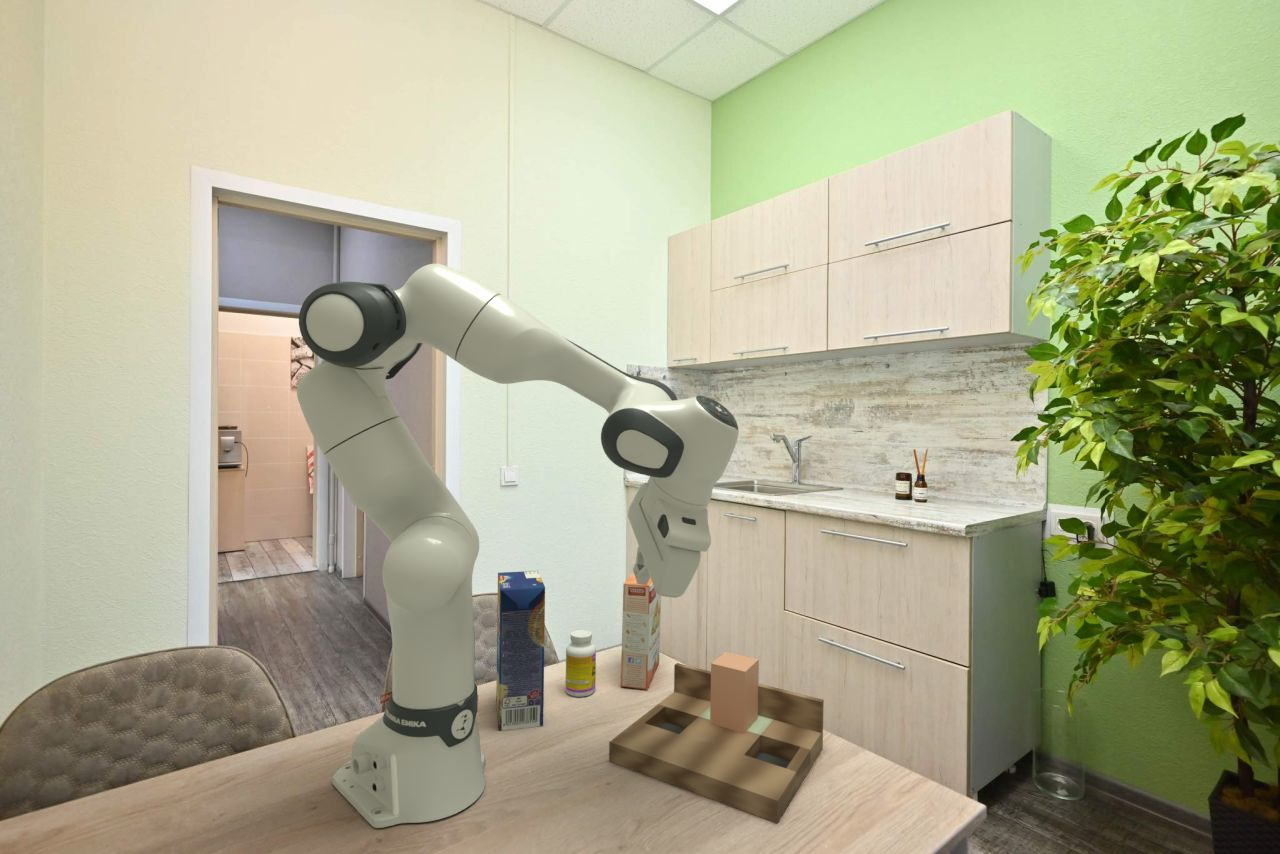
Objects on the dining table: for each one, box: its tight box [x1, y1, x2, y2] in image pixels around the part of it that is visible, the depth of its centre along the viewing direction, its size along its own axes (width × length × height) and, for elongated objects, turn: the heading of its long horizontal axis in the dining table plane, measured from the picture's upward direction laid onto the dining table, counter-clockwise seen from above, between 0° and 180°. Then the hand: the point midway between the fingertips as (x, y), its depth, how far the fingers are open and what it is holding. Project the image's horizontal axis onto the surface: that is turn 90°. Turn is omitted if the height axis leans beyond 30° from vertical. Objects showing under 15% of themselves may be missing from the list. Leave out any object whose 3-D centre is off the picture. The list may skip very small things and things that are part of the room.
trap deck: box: [608, 662, 825, 824], centre depth 98 cm, size 27×22×8 cm
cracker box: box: [620, 572, 662, 691], centre depth 127 cm, size 14×6×21 cm, turn 168°
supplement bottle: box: [564, 629, 597, 698], centre depth 119 cm, size 6×6×11 cm
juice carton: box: [495, 570, 546, 732], centre depth 110 cm, size 12×8×24 cm, turn 15°
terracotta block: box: [710, 651, 760, 734], centre depth 102 cm, size 6×6×10 cm
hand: (639, 578), depth 94 cm, fingers closed
